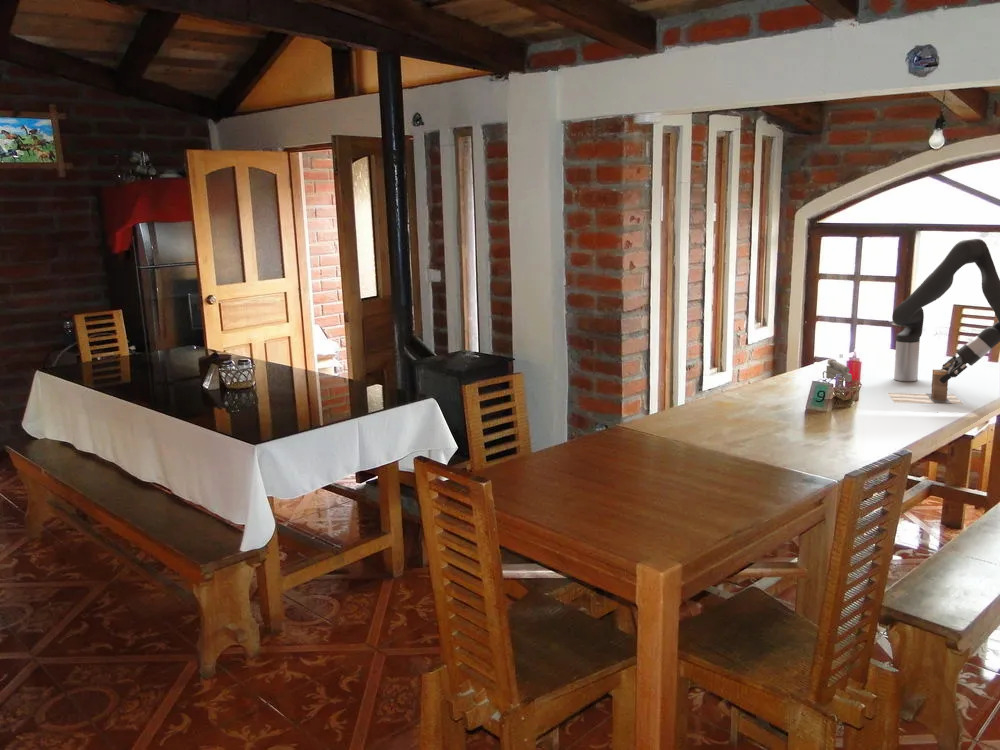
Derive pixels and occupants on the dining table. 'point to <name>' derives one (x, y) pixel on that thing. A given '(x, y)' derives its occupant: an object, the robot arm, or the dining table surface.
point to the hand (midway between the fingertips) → (938, 379)
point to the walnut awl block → (939, 385)
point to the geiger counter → (837, 370)
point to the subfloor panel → (922, 398)
